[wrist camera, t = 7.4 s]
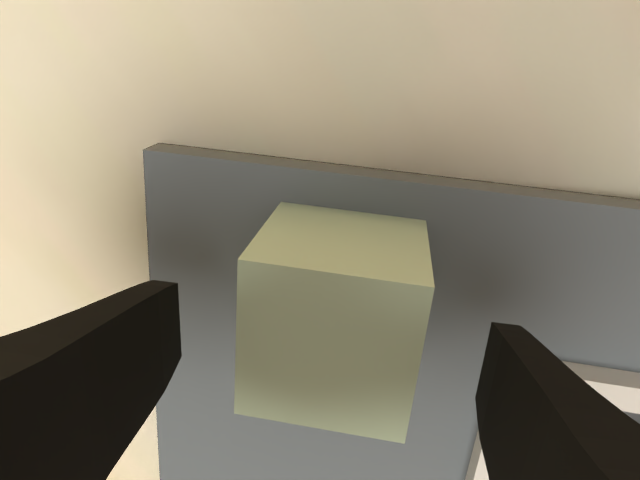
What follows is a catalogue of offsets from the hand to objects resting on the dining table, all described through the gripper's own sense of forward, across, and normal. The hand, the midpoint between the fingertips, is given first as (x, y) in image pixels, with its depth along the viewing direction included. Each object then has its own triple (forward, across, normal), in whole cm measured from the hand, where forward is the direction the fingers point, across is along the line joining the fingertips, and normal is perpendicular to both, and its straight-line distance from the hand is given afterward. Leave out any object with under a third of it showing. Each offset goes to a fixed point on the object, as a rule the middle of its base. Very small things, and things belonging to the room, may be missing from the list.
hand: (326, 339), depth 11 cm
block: (+3, 0, 0) cm, 3 cm away
